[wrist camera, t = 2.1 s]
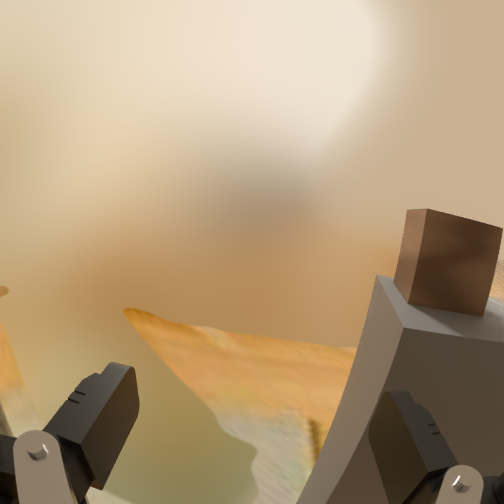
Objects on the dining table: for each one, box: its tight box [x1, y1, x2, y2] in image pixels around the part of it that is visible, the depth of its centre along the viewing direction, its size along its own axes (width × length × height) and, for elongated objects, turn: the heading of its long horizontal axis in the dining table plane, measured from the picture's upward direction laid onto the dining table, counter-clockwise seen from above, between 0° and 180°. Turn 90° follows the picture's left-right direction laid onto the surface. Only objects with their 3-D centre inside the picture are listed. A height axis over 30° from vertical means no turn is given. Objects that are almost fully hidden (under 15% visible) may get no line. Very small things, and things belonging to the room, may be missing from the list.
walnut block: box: [393, 209, 503, 317], centre depth 16 cm, size 5×5×5 cm
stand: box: [296, 275, 504, 504], centre depth 16 cm, size 18×11×32 cm, turn 73°
